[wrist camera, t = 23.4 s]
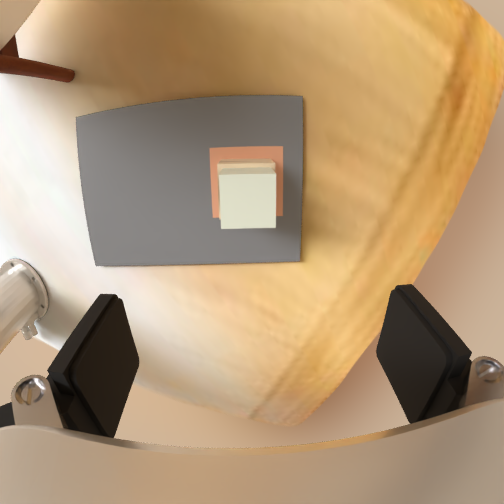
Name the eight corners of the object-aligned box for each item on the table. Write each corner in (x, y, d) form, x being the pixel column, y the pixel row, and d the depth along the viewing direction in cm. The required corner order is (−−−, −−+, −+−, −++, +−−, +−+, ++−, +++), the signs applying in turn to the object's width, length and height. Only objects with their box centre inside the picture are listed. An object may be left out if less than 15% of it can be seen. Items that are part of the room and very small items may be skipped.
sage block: (270, 213, 32) (275, 227, 28) (224, 214, 32) (221, 229, 27) (271, 167, 30) (276, 173, 26) (222, 168, 30) (218, 174, 26)
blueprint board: (298, 258, 42) (299, 261, 41) (98, 263, 41) (95, 266, 41) (301, 97, 34) (302, 96, 33) (79, 117, 33) (75, 117, 32)
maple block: (270, 205, 38) (274, 218, 32) (222, 206, 38) (219, 219, 32) (270, 158, 36) (275, 163, 30) (221, 159, 36) (217, 164, 30)
